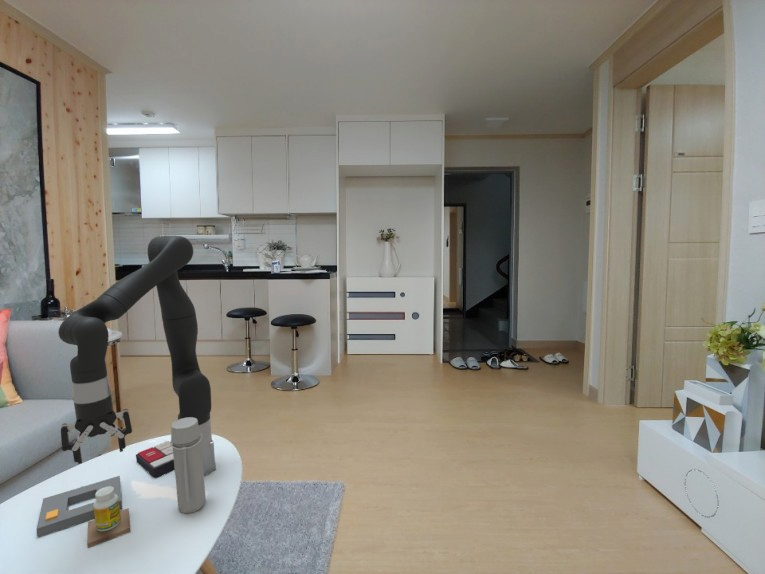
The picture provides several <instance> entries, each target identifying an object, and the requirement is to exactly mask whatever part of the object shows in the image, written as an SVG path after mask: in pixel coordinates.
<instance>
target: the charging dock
mask: <svg viewBox="0 0 765 574" xmlns="http://www.w3.org/2000/svg"><path fill="white" fill-rule="evenodd" d="M120 476H121V475H117V476H113V477H111V478H107V479H104V480H101V481H98V482H94V483H91V484H88V485H84V486H80V487H77V488H75V489H74V488H73V489H71V490H67V491H64V492H60V493H58V494H53V495H51V496H47V497H44V498H42V503H41V507H40V512H39V517H38V520H37V524H36V534H37V538H40V537H45V536H47V535H49V534H52V533H55V532H59V531H62V530H65V529H68V528H71V527H73V526H77V525H79V524H82V523H85V522H89V521H92V520H95V515H94V508H93V504H94V502H95V501H94V502H90V503H87V504H85V505H81V506H78V507H75V508H72V509H70V506H73V505H76V503H77V504H79V503H83V502H86V501H89V500H92V499H96V498H95V494H96V492H97V491H98V490H100V489H102V488H104V487H109V486H111V487H114V491H115V494H117V495H118V499H119V507H120V511H121V510H123V503H122V501H123V500H122V486H121V485H122V484H121V478H120Z"/></svg>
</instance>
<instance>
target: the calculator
mask: <svg viewBox="0 0 765 574" xmlns="http://www.w3.org/2000/svg"><path fill="white" fill-rule="evenodd" d="M170 442H171V440H166V441H164V442H161V443H160V444H157V445H154V447H153V446H152V447H149V448H147V449H146V448H145V449H143V450H141V451H138V452H137V454H135V460H136V463H137V464H138V465H139V466H140V467H141V468H142V467H143V468H142V469H144V470H145V471H146V472H147V473H148V474H149V475H150V477H152V478H153V479H154V480H155V479H158V478H160V477H162V475H163V476H164V474H165V475H167V474H169V473H171V472H173V470H174V471H175V467H174V456H173V447H171V445H170Z"/></svg>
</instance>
